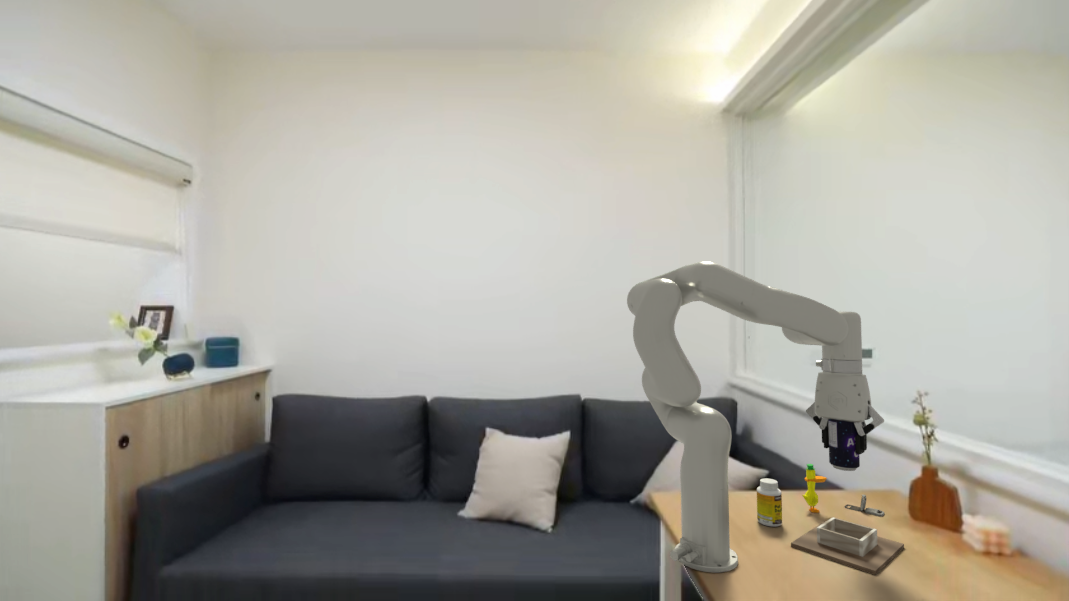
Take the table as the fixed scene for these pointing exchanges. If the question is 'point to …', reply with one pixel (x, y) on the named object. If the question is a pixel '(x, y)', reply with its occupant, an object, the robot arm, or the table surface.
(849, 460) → the beverage can
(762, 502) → the supplement bottle
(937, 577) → the table surface
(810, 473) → the toy figure
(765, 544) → the table surface
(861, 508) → the strap clip
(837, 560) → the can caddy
